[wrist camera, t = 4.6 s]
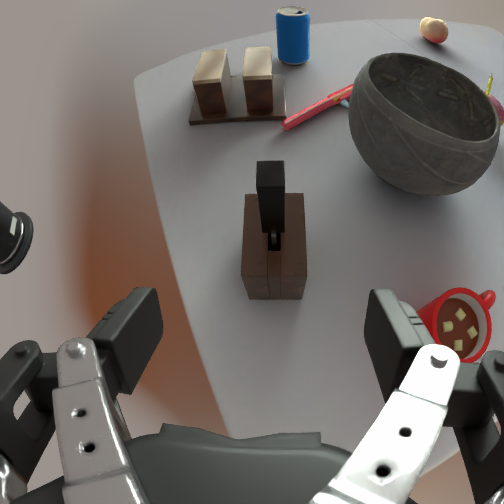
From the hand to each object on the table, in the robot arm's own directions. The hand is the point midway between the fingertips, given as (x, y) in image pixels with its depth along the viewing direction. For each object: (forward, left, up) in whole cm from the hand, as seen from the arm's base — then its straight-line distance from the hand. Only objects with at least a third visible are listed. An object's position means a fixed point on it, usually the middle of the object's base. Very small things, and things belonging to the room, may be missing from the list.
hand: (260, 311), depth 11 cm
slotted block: (-15, +40, -23) cm, 49 cm away
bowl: (+14, +31, -24) cm, 41 cm away
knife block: (-2, +11, -23) cm, 26 cm away
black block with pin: (-2, +11, -23) cm, 26 cm away
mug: (+20, +7, -24) cm, 31 cm away
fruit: (+27, +85, -24) cm, 92 cm away
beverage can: (-8, +56, -24) cm, 61 cm away
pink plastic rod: (+2, +42, -24) cm, 48 cm away
